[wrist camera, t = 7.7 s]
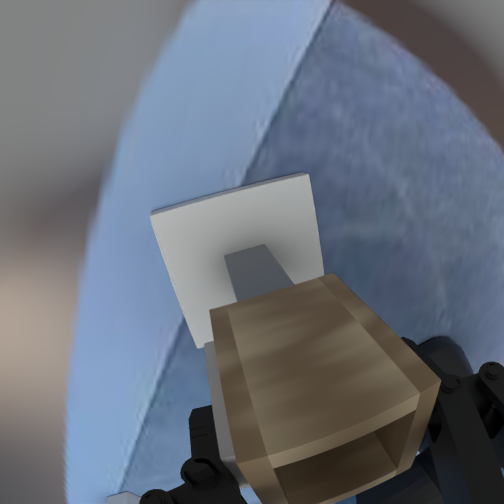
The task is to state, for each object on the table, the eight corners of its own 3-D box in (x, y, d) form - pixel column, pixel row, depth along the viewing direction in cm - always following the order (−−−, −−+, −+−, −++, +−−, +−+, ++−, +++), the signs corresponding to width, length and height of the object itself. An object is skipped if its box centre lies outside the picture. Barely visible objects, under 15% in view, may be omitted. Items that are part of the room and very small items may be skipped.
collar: (332, 272, 14) (441, 380, 7) (340, 362, 17) (410, 467, 9) (209, 309, 14) (236, 463, 6) (240, 396, 16) (274, 521, 9)
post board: (301, 172, 24) (374, 194, 14) (322, 301, 28) (378, 371, 18) (151, 211, 23) (125, 262, 13) (196, 338, 27) (205, 429, 17)
